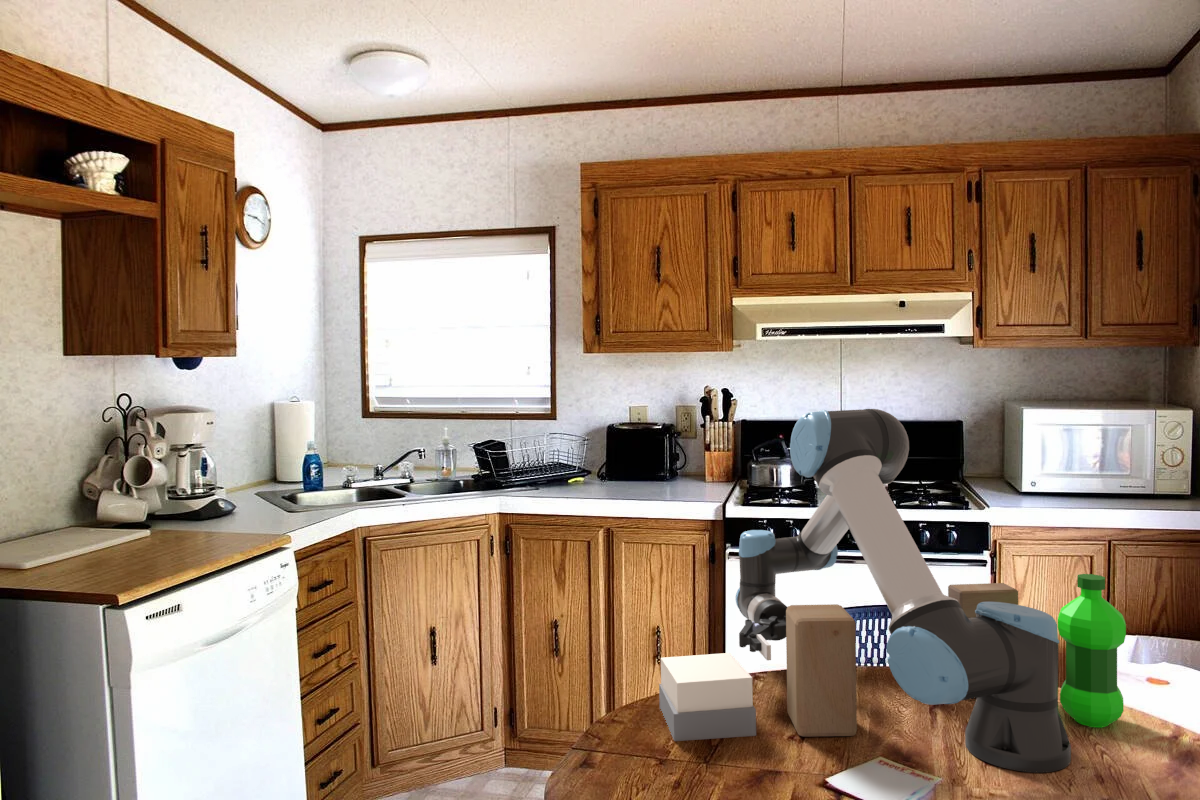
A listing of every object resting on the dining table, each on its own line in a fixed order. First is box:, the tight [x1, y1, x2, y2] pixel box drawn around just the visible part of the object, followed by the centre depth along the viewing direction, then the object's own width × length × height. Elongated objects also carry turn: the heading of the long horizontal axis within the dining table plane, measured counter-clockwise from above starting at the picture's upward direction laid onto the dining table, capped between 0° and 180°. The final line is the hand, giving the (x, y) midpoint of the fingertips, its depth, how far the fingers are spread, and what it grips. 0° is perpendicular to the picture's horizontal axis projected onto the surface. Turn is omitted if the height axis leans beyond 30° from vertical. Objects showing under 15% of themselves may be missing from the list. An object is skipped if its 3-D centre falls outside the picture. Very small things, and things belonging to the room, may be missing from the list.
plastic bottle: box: [1057, 573, 1127, 729], centre depth 148 cm, size 10×10×25 cm
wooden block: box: [785, 603, 858, 738], centre depth 149 cm, size 10×10×20 cm
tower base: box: [658, 683, 757, 742], centre depth 152 cm, size 14×14×5 cm
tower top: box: [660, 652, 754, 713], centre depth 152 cm, size 13×13×5 cm
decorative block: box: [947, 582, 1019, 618], centre depth 162 cm, size 11×6×20 cm, turn 91°
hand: (805, 650), depth 155 cm, fingers open, 13 cm apart
